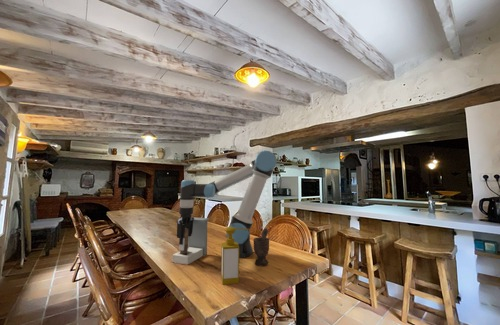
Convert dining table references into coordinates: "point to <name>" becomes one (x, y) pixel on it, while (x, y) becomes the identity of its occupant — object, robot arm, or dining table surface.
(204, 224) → the stand
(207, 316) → the dining table surface
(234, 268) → the soap bottle
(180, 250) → the walnut dowel
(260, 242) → the mortar and pestle
